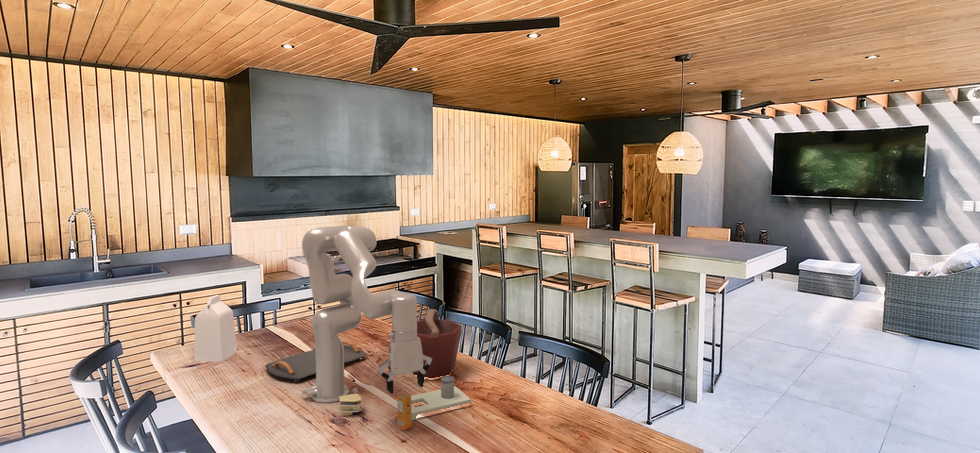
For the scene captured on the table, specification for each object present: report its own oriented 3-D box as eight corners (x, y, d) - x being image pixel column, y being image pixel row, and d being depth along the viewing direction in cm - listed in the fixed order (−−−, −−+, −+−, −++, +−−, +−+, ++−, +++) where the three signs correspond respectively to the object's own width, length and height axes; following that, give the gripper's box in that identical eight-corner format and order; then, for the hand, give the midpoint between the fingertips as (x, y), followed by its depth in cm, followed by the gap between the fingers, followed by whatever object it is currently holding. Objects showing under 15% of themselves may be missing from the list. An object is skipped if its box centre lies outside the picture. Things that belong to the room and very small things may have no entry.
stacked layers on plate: (334, 422, 158) (334, 405, 158) (335, 409, 167) (335, 393, 166) (366, 418, 161) (366, 402, 161) (365, 406, 170) (365, 390, 169)
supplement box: (404, 423, 157) (404, 393, 156) (412, 427, 155) (412, 396, 154) (396, 427, 155) (396, 396, 154) (404, 431, 153) (404, 400, 152)
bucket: (449, 387, 185) (449, 321, 183) (393, 381, 190) (393, 317, 187) (465, 363, 209) (466, 305, 207) (415, 358, 214) (415, 301, 211)
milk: (221, 361, 207) (219, 300, 204) (194, 361, 207) (191, 299, 205) (237, 351, 219) (235, 293, 216) (211, 351, 219) (208, 293, 217)
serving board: (290, 388, 183) (290, 372, 182) (257, 373, 197) (257, 358, 196) (372, 358, 214) (372, 344, 214) (339, 347, 228) (339, 334, 227)
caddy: (410, 421, 159) (410, 394, 158) (397, 406, 169) (397, 381, 169) (470, 406, 170) (471, 381, 169) (455, 392, 180) (455, 369, 180)
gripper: (381, 342, 144) (382, 399, 146) (435, 333, 153) (436, 387, 155) (373, 336, 151) (374, 390, 152) (426, 327, 160) (427, 379, 161)
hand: (405, 389), depth 153 cm, fingers open, 9 cm apart
